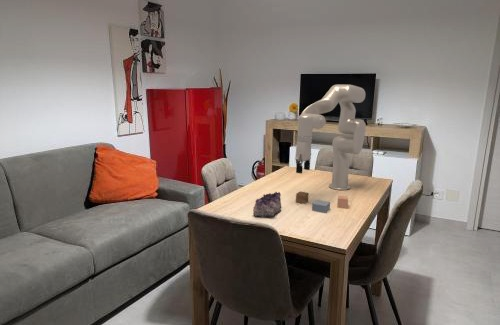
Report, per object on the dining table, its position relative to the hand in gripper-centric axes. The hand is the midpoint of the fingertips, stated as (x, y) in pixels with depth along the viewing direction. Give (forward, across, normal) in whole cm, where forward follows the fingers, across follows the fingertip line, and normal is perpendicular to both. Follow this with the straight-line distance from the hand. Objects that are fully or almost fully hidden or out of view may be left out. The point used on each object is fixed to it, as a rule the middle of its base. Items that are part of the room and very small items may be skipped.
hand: (303, 171), depth 187 cm
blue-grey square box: (+17, +6, +13) cm, 22 cm away
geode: (+18, +22, -8) cm, 30 cm away
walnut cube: (+17, 0, 0) cm, 17 cm away
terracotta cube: (+17, -6, +21) cm, 27 cm away
